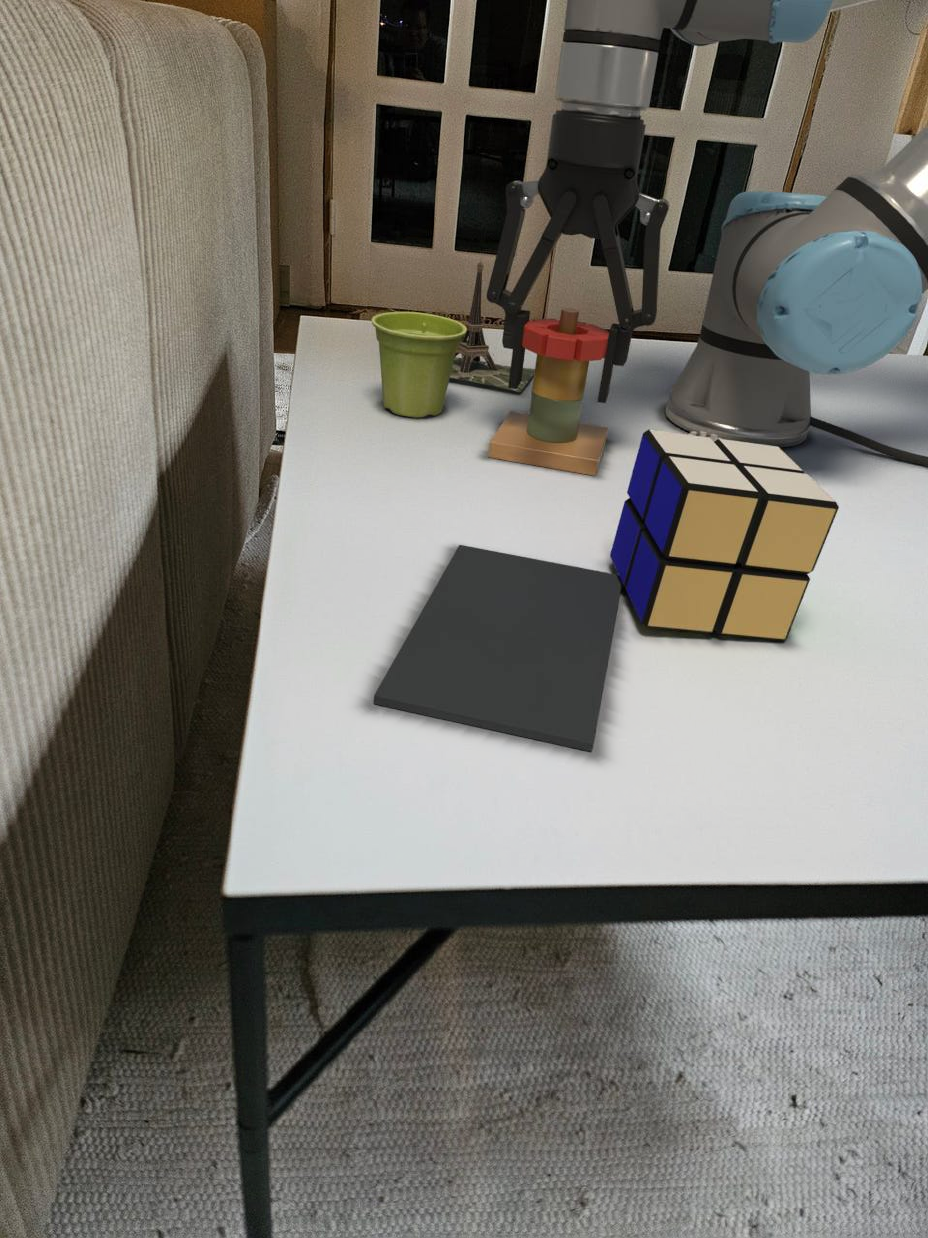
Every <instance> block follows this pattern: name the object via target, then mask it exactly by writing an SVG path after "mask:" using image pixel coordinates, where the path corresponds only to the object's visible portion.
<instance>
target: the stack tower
mask: <svg viewBox="0 0 928 1238" xmlns="http://www.w3.org/2000/svg"><path fill="white" fill-rule="evenodd" d="M579 316H580V310H578V309H576V308H572V307H563V308H561V310H560V315H559V320H560V322H559V329H558V333H564V334H571V335H576V329H577V323H578V322H579ZM589 366H590V361H578V360H575V359H574V360H573V361H569V360H562V359H556V358H550V357H545V355H538V354H536V359H535V366H534V369H535V373H534V374H533V381H532V388H531V394H530V395H531V396H530V404H529V410H528V413H524V412H519V411H512V410H509V412H508V413H507V415H506V417H505V418H504V419H503V421H502V423H501V424H500V426H499V428H498V429H497V431H496V432H495V433H494V435H493V437H492V438H491V439H490V441H489V444H488V445H489V446H488V454H487V457H488V458H491V459H495V460H496V459H497V460H502V461H508V462H513V463H518V464H519V463H520V464H526V465H531V466H537V467H542V468H547V469H553V470H559V471H564V472H565V471H566V472H572V473H577V474H582V475H586V476H587V475H588V476H593V477H596V476H597V473H598V469H599V465H600V463H601V459H602V456H603V453H604V450H605V446H606V442H607V440H608V439H607V438H608V433H609V427H608V426H602V425H598V424H597V425H596V424H591V423H584V422H581V421H580V420H581V414H582V408H583V402H584V397H585V390H586V384H587V377H588V371H589Z"/></svg>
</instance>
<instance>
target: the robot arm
mask: <svg viewBox="0 0 928 1238" xmlns="http://www.w3.org/2000/svg"><path fill="white" fill-rule="evenodd" d="M876 1H877V0H567V1H566V7H565V17H564V26H563V35H562V42H561V45H560V55H559V63H558V69H557V78H556V85H555V86H556V87H555V92H554V93H555V95H554V99H555V100H556V101H557V102H561V106H560V107H561V108H560V109H556V110H555V113H553V114H552V117H551V127H550V134H549V141H548V150H547V158H546V165H545V168H544V171H543V172H542V174H541V175H540V177H539V179H538V180H531V181H521V180H518V179H517V180H514V181H511V182H509V183H508V184H506V187H505V202H506V215H505V220H504V223H503V226H502V227H503V228H502V231H501V236H500V239H499V243H498V247H497V251H496V255H495V258H494V259H495V260H494V264H493V266H492V272H491V275H490V280H489V283H488V288H487V291H486V300H487V301H488V302H489V303H490V304H495V305H497V306H499V307H501V308H502V309H503V311H504V322H503V331H502V339H501V343H502V347H503V349H509V350H512V352H511V353H512V354H511V361H510V367H511V368H510V377H509V385H508V388H512V389H516V388H517V387H518V386H519V384H520V383H521V379H522V371H523V368H524V362H525V355H526V349H525V348H523V346H522V340H523V332H524V326H525V324H526V323H527V322H528V321H529V320H530V316H531V310H526V309H523V305H524V304H525V301H526V300H527V298H528V296H529V294H530V293H531V290H532V289H533V287H534V285H535V283H536V281H537V280H538V278H539V276H540V274H541V272H542V271H543V268H544V267H545V265H546V263H547V261H548V259H549V258H550V255H551V254H552V252H553V251H554V248H555V247H556V245H557V243H558V241H559V240H560V238H561V236H562V235H566V236H576V235H582V236H584V237H587V238H589V239H593V240H594V239H595V240H599V239H600V244H601V248H602V251H603V254H604V258H605V259H604V260H605V263H606V268H607V273H608V277H609V283H610V287H611V292H612V296H613V302H614V307H615V311H616V316H617V320H618V321H617V322H618V323H613V322H612V323H611V325H610V328H609V330H608V331H609V337H608V343H607V348H606V354H605V359H604V361H603V366H602V371H601V377H600V383H599V389H598V394H597V399H596V400H597V402H596V403H599V404H606V403H607V400H608V397H609V394H610V387H611V381H612V378H613V377H612V376H613V371H614V366H619V367H625V364H626V363H627V361H628V358H629V354H630V353H629V352H630V349H631V341H632V336H633V332H634V330H636V329H637V328H641V327H644V326H645V327H646V326H647V327H650V326H652V325H654V323H655V322H656V318H657V314H658V298H659V297H658V295H659V274H660V252H661V233H662V228H663V225H664V222H665V220H666V217H667V214H668V212H669V210H670V202H669V201H668V200H667V199H666V198H659V199H657V198H655V197H653V196H649V195H647V194H644V193H642V192H641V189H640V185H639V183H638V175H639V173H638V172H639V167H640V161H641V155H642V149H643V143H644V138H645V132H646V127H647V124H645V120H644V119H642V115H641V112H643V111H644V112H645V111H647V110H648V109H649V108H650V103H651V99H652V91H653V87H654V79H655V75H656V69H657V63H658V57H659V51H660V45H661V38H662V35H663V31H664V29H670V31H671V32H672V33H673V34H674V35H675V36H676V37H677V38H679V39H680V40H682V41H684V42H686V43H688V44H690V45H692V46H695V47H705V46H709V45H713V44H716V43H721V42H729V41H730V42H731V41H737V40H744V39H746V40H757V41H758V40H759V41H766V42H767V41H768V43H770V44H777V43H790V44H791V43H793V44H794V43H795V44H802V43H806V42H808V41H809V40H810V39H812V38H813V37H814V36H815V35H816V34H817V33H818V32H819V30H821V29H820V28H821V27H822V26H823V24H824V22H825V20H826V18H827V16H828V14H829V13H833V12H838V11H841V10H845V9H849V8H854V7H856V6H860V5H865V4H868V3H872V2H876ZM537 195H539V197H540V199H541V201H542V203H543V205H544V207H545V209H546V211H547V213H548V216H549V217H550V219H549V220H548V223H547V225H546V227H545V229H544V230H543V232H542V235H541V236H540V239H539V240H538V242H537V245H536V247H535V248H534V250H533V252H532V254H531V256H530V257H529V259H528V261H527V263H526V265H525V267H524V269H523V271H522V272H521V275H520V276H519V278H518V279H517V282H516V284H515V286H514V288H513V289H512V291H510V290H508V289H507V286H508V282H509V278H510V274H511V270H512V266H513V263H514V259H515V256H516V253H517V248H518V244H519V240H520V237H521V232H522V229H523V225H524V221H525V217H526V210H527V209H529V208H531V207H532V206H533V203H534V199H535V197H536V196H537ZM634 208H637V209H638V211H639V221H640V223H641V224H642V225H644V226H646V227H645V232H644V243H643V266H642V268H643V269H642V288H641V289H642V290H641V292H642V294H641V308H639V309H635V310H634V305H633V300H632V294H631V290H630V289H631V288H630V285H629V280H628V275H627V270H626V265H625V260H624V255H623V250H622V246H621V238H620V232H619V226H618V225H619V224H621V222H622V221H623V220H624V219H625V218H626V217H627V215H628V214H629V213H630V212H632V211H633V209H634ZM720 232H721V237H720V242H719V246H718V250H717V255H716V259H715V260H716V261H715V265H714V269H713V274H712V278H711V281H710V287H709V291H708V296H707V300H706V305H705V309H704V314H703V319H702V324H701V329H700V332H699V337H698V340H697V344H696V346H695V347H694V350H693V352H692V354H691V355H690V357H689V359H688V360H687V362H686V364H685V365H684V368H683V369H682V371H681V372H680V375H679V376H678V378H677V380H676V382H675V383H674V384H673V385H674V386H673V387H672V389H671V391H670V392H669V394H668V397H667V402H666V407H665V415H666V417H667V419H669V420H670V421H671V422H672V423H673V424H674V425H676V426H677V427H679V428H682V429H684V430H685V431H688V432H689V433H690V432H693V431H695V432H697V434H696V435H697V436H699V434H700V431H702V432H706V436H705V437H709V438H710V436H711V434H715V435H717V436H718V437H717V438H721V439H725V440H732V441H740V442H747V443H755V444H762V445H769V446H777V447H779V448H787V447H793V446H796V445H799V444H801V443H804V442H805V441H806V439H807V437H808V434H809V430H810V427H812V428H815V429H817V430H820V431H824V432H825V433H828V434H831V435H835V436H837V437H839V438H842V439H845V440H848V441H851V442H852V443H855V444H857V445H860V446H862V447H865V448H867V449H870V450H872V451H874V452H877V453H879V454H882V455H885V456H889V457H891V458H895V459H898V460H902V461H905V462H910V463H913V464H917V465H922V466H926V467H928V456H927V455H922V454H918V453H914V452H910V451H906V450H903V449H899V448H896V447H893V446H889V445H887V444H884V443H882V442H879V441H876V440H875V439H871V438H869V437H867V436H864V435H863V434H859V433H857V432H855V431H853V430H849V429H847V428H844V427H841V426H839V425H836V424H833V423H829V422H827V421H824V420H821V419H819V418H817V417H814V416H812V403H811V399H812V398H811V374H810V373H815V374H819V375H843V374H848V373H852V372H856V371H859V370H862V369H865V368H867V367H869V366H872V365H873V364H875V363H877V362H878V361H880V360H882V359H883V358H885V356H887V355H888V354H889V353H891V352H892V351H893V350H894V349H895V348H896V347H897V346H899V345H900V344H901V342H902V341H903V339H905V337H906V336H907V334H908V333H909V332H910V331H911V329H912V327H913V326H914V323H915V321H916V319H917V316H918V314H917V310H918V308H919V304H921V302H922V296H923V294H924V293H925V292H926V291H928V123H927V124H926V125H925V126H924V127H923V128H921V130H920V131H919V132H918V133H917V134H916V135H915V136H914V137H913V138H912V139H911V140H910V141H908V142H907V144H905V146H903V148H901V150H900V151H898V152H897V153H896V154H895V155H894V156H893V157H892V158H891V159H890V160H889V161H888V162H887V163H886V164H885V165H884V166H883V167H882V168H881V169H880V170H877V171H875V172H874V171H873V172H863V173H862V172H861V173H851V174H849V175H848V176H847V177H846V178H845V179H844V180H843V181H841V183H840V184H839V185H838V186H836V188H835V189H833V190H832V191H831V193H829V194H828V195H827V196H824V195H818V194H810V193H798V192H785V191H764V190H762V191H761V190H754V191H753V190H751V191H743V192H740V193H737V195H735V197H733V199H732V200H731V202H730V204H729V206H728V209H727V212H726V216H725V220H724V221H723V223H722V225H721V230H720Z"/></svg>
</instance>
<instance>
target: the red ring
mask: <svg viewBox="0 0 928 1238" xmlns="http://www.w3.org/2000/svg"><path fill="white" fill-rule="evenodd" d="M559 322H560V319H559V320H558V319H556V318H536V319H532V320H530V319H529V321H528V322H527V323H526V324H525V326H524V332H523V340H522V346H523V348H525V350H526V351H529V352H531V353H533V354H536V355H537V354H538V355H545V357H550V358H556V359H562V360H569V361H573V360H574V359H575V360H578V361H589V362H591V361H592V362H593V361H601V360H603V359H604V360H605V354H606V348H607V343H608V337H609V331H610V330H607V329H605V328H603V327H600V326H598V325H594V324H593V323H592V324H591V323H589V324H587V323H586V322H585V321H578V323H577V329H576V335H571V334H564V333H558V329H559Z"/></svg>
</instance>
